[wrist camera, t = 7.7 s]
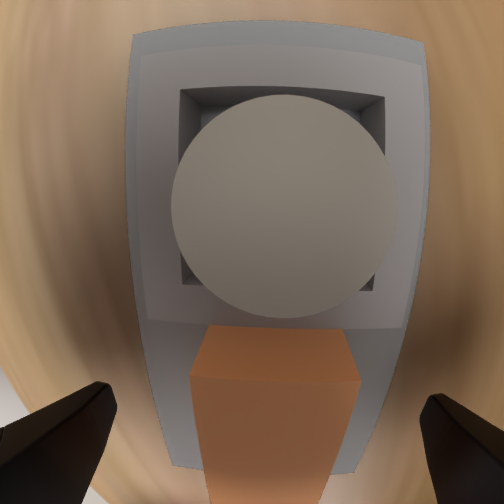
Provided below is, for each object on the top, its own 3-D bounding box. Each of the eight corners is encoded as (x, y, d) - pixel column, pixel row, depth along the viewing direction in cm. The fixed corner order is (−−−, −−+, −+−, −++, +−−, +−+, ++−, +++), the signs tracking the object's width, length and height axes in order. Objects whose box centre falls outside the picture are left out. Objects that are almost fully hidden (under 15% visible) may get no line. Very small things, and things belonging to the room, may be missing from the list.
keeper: (415, 48, 7) (517, -23, 2) (352, 463, 12) (367, 554, 7) (140, 40, 8) (36, -36, 2) (175, 456, 12) (146, 544, 7)
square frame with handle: (336, 455, 11) (347, 527, 7) (193, 449, 11) (174, 520, 8) (391, 84, 7) (465, 38, 3) (168, 76, 7) (98, 25, 4)
